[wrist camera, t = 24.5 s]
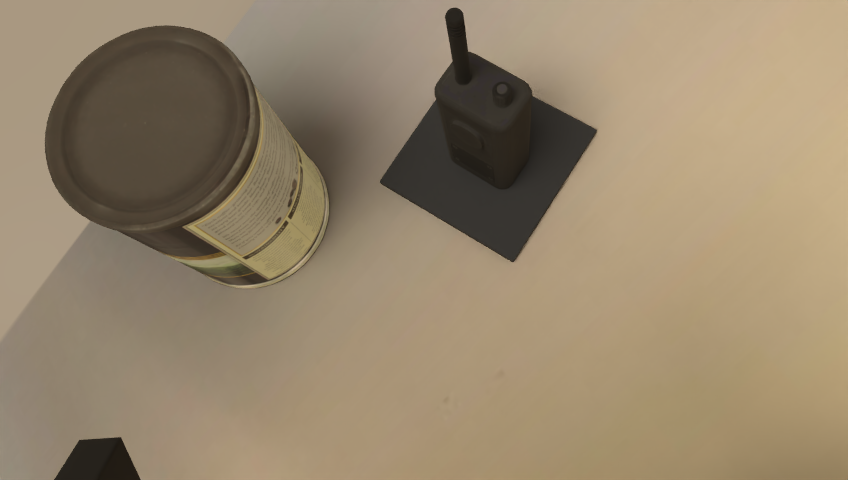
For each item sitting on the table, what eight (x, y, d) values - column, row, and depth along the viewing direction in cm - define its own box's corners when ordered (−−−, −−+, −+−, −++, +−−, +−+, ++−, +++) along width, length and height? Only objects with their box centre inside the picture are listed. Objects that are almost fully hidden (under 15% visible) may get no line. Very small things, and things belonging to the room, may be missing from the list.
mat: (380, 183, 46) (379, 181, 45) (463, 62, 47) (463, 59, 47) (513, 262, 43) (513, 261, 43) (596, 132, 45) (597, 129, 44)
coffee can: (199, 313, 45) (63, 261, 31) (165, 171, 48) (27, 68, 34) (351, 258, 45) (279, 182, 31) (307, 119, 48) (224, -6, 34)
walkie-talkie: (533, 154, 44) (541, 22, 30) (503, 197, 44) (497, 83, 30) (469, 118, 46) (448, -27, 31) (440, 159, 45) (404, 32, 31)
